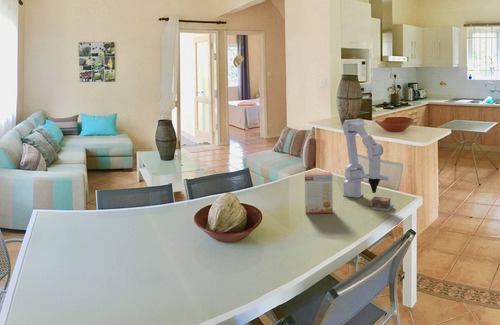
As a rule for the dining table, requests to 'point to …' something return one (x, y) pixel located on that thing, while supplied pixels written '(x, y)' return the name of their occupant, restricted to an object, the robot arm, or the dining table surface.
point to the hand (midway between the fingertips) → (374, 192)
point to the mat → (383, 208)
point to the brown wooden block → (380, 202)
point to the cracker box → (318, 192)
